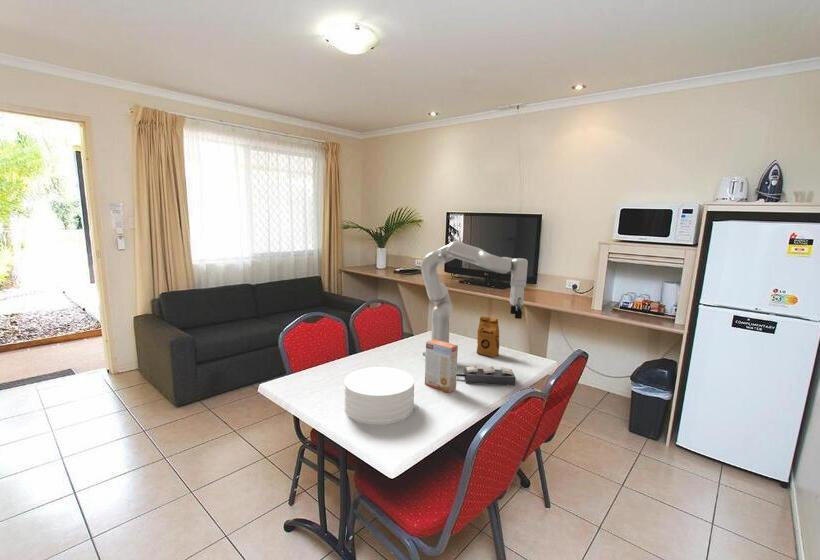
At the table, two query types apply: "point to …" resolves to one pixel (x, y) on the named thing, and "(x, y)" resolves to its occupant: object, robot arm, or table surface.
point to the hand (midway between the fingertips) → (515, 316)
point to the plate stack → (379, 395)
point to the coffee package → (488, 336)
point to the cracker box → (441, 365)
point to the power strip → (488, 377)
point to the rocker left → (472, 369)
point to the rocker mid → (488, 369)
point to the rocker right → (507, 370)
